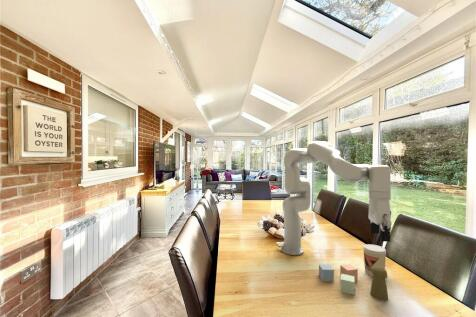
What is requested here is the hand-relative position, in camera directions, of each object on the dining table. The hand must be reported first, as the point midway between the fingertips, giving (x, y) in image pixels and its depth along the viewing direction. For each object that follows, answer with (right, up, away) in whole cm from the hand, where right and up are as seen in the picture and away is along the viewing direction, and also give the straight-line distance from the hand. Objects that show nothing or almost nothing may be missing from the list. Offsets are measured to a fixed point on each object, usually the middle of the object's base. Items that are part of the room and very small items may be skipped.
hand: (379, 237), depth 92 cm
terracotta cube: (-8, -22, +10) cm, 25 cm away
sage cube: (-13, -22, +1) cm, 26 cm away
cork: (-3, -22, -4) cm, 23 cm away
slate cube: (-18, -22, +10) cm, 30 cm away
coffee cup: (+6, -22, +14) cm, 27 cm away
